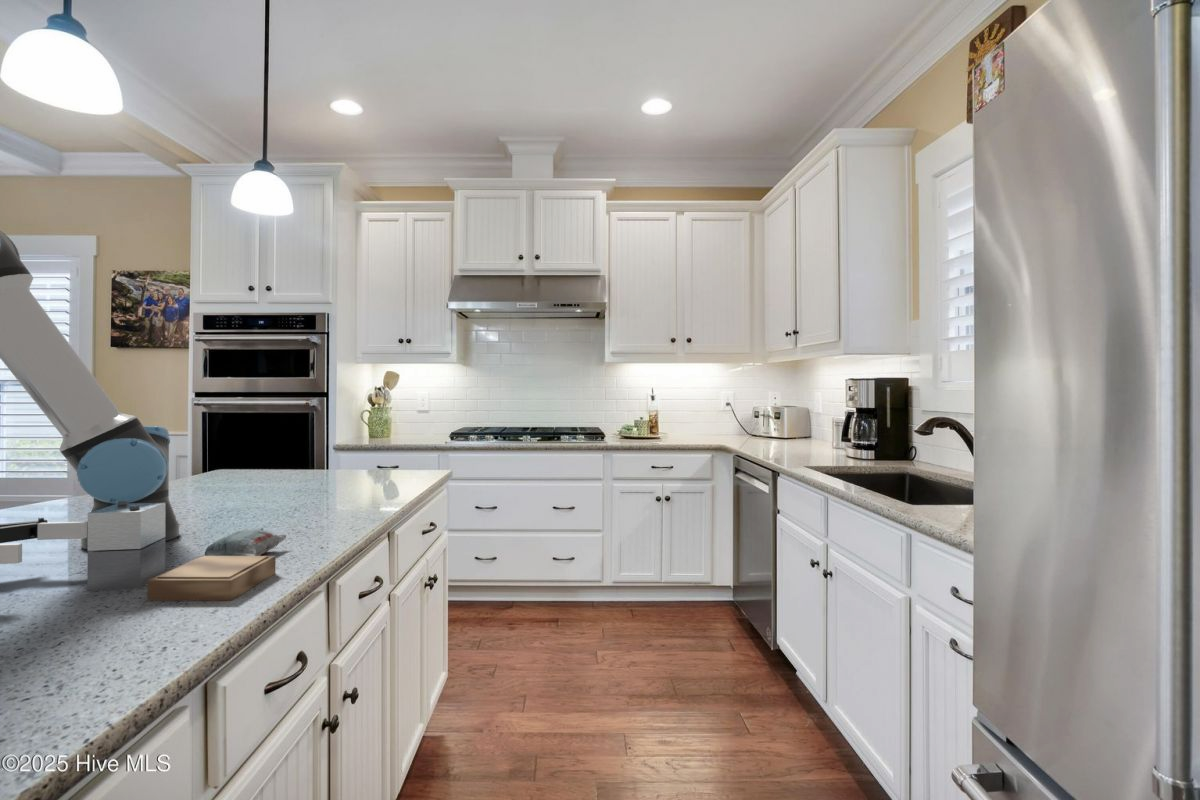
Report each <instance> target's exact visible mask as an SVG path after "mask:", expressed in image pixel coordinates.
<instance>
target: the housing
mask: <svg viewBox="0 0 1200 800" xmlns="http://www.w3.org/2000/svg"><path fill="white" fill-rule="evenodd" d="M87 521H88V549H87V592H97V591H114V590H129V589H128V588H136V589H141V587H142V588H144V587H145V586H146V584H147V582H148V580H149V579H152V578H154V577H156V576H158V575H161V574H163V573H165V572H166V541H165V538H164V537H165V503H133V504H127V501H122V502H118V504H115V505H112V506H109V507H106V508H102V509H99V510H96V511H93V512H91V511H90V512H87Z"/></svg>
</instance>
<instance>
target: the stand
mask: <svg viewBox="0 0 1200 800" xmlns="http://www.w3.org/2000/svg"><path fill="white" fill-rule="evenodd" d="M276 558H277V557H276V555H261V556H205V555H201V556H199V557H197V558H194V559H192V560H190V561H188V562H186V563H183V564H182V565H179V566H176V567H174V568H172V569H169V570H168V571H165V573H163V574H161V575H158V576H156V577H154V578H152V579H149V580H148V582H147V588H146V590H147V592H146V593H147V597H146V598H147V599H146V600H147V601H153V602H154V601H171V602H172V601H173V602H174V601H178V602H179V601H181V602H182V601H232V600H235V599H236V598H238V597H239V596H241V595H243V594H244V593H246V592H247V591H249V590H251V589H252V588H254V587H256V586H257V585H260V584H261V583H262V582H264V581H266V580H267V579H268V578H271V577H272V576H274V575H276V562H277V561H276V560H277V559H276Z"/></svg>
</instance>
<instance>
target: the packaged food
mask: <svg viewBox="0 0 1200 800" xmlns="http://www.w3.org/2000/svg"><path fill="white" fill-rule="evenodd" d="M286 539H287V534H281V535H279V534H276V533H273V532H270V531H267V530H264V529H263V528H257V529H244V530H237V532H234V533H231V534H229V535H227V536H224V537H222V538H220V539H217V540H216V541H215V542H213V543H211V544H210V545H208V546H207V547H206V549H205V551H204V556H264V555H265V554H266V553H267V552H268V551H271V550H272V549H274V548H276V547H277V546H279V544H280V543H282V542H283V541H286Z"/></svg>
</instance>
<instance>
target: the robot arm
mask: <svg viewBox="0 0 1200 800" xmlns="http://www.w3.org/2000/svg"><path fill="white" fill-rule="evenodd" d="M33 280H34V277H33V275H32V273H30V271H29V269H28V268H27V267H26V266H25V264H24V262H22V260H21V257H20V252H19V249H18V248H17V246H16V244H15V243H14V241H13V240H12V239H11V238H10V237H9V236H8V235H6V234H5V233H4V232H3V231H1V230H0V360H1V361H2V363H3V364H4V365H5V366H6V367H7V369H8V370H9V372H11V374H12V375H13V376H14V377H15V378H16V381H18V382H19V384H20V385H21V387H23V389H24V390H25V392H26V393H27V394H28V395H29V396H30V398H31V399H32V400H33V401H34V402H35V404H36V405H37V406H38V407H39V409H40V410H41V411H42V412H43V414H44V415H45V417H46V418H47V419H48V421H50V422H51V424H52V425H53V426H54V428H55V429H56V430H57V431H58V433H60V435H61V436H62V441H61V444H60V447H59V449H58V450H59V452H60V453H61V455H63V457H64V458H65V459H66V461H67V462H68V463H69V464H70V466H71V467H72V468H73V469H74V471H75V472H76V476H77V481H78V482H79V485H80V487H81V488H82V490H83V491H84V492H85V493H86V494H87V495H89V496H90V497H92V498H93V505H92V509H91V510H90V512H93V511H96V510H99V509H102V508H106V507H109V506H112V505H115V504H118V502H122V501H127V504H133V503H165V537H164V538H165V542H168V541H171V540H173V539H176V538H177V537H178V536H179V535H180V524H179V521H178V520H177V518H176V514H175V512H174V509H173V507H172V504H171V501H170V498H169V497H170V496H169V495H170V493H169V490H170V489H169V487H170V485H169V484H170V443H171V438H170V436H169V433H170V432H169V431H168V429H167V428H166V427H163V426H154V425H153V426H151V425H143V424H142V422H141V421H140V420H139V419H138V417H137V416H136V415H131V414H127V413H123V412H121V411H120V410H119V408H118V407H117V406H116V404H115V403H114V401H112V399H111V398H110V396H109V395H108V394H107V392H106V391H105V389H104V388H103V387H102V385H101V384H100V382H98V380H97V379H96V377H95V376H94V375H93V374H92V372H91V371H90V369H89V368H88V367H87V366H86V365H85V363H84V361H83V360H82V359H81V357H80V356H79V355H78V353H77V352H76V351H75V350H74V348H73V347H72V346H71V345H70V343H69V342H68V340H67V339H66V338H65V336H64V335H63V334H62V332H61V331H60V330H59V328H58V326H57V325H55V323H54V321H53V320H52V319H51V317H50V316H49V315H48V314H47V312H46V311H45V309H44V308H43V307H42V306H41V304H40V303H39V301H38V300H37V299H36V297H35V296H34V294H32V292H31V291H30V288H31V285H32V283H33ZM37 519H38V520H30V521H28V520H27V521H17V522H8V523H0V565H10V564H11V565H14V564H19V563H22V562H23V543H22V542H21V543H12V542H18V541H19V542H20V541H27V540H33V539H34V540H35V539H37V541H50V540H51V541H53V540H78V539H79V540H81V541H80V543H81V544H80V547H81V548H82V549H83V550H88V520H86V521H59V522H57V521H53V522H51V521H50V522H49V521H48V519H45V518H44V517H38V518H37ZM10 542H11V543H10Z"/></svg>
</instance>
